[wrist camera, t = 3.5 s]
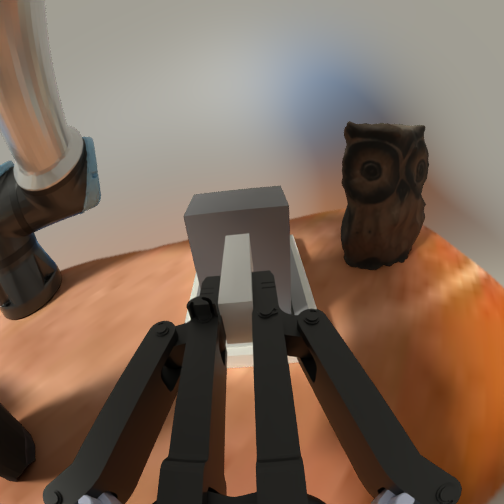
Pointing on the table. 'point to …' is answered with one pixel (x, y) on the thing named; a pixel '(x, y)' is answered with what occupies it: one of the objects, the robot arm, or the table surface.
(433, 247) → the table surface
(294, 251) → the white flat rectangular tray
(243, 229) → the grey rectangular block
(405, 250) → the owl
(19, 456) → the portable speaker
